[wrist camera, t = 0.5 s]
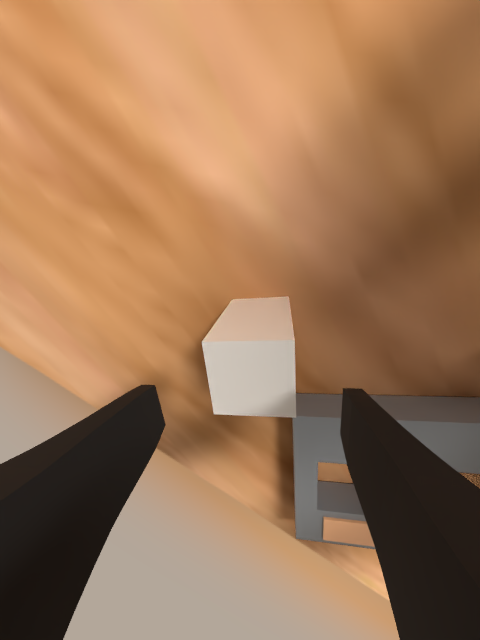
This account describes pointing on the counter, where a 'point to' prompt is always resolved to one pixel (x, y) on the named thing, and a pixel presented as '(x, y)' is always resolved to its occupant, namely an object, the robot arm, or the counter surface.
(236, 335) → the plug
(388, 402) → the socket board
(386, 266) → the counter surface
